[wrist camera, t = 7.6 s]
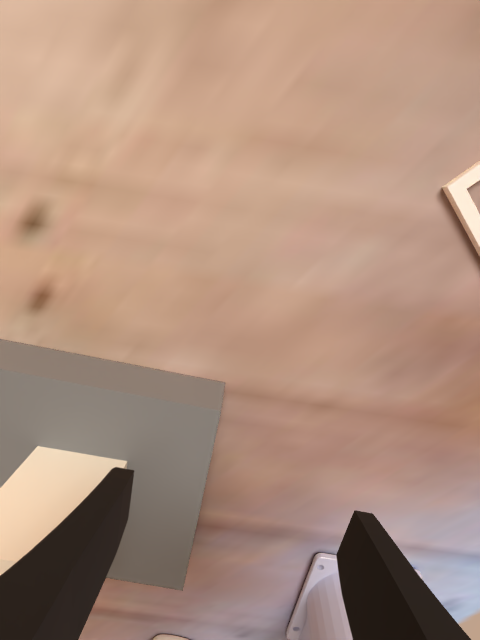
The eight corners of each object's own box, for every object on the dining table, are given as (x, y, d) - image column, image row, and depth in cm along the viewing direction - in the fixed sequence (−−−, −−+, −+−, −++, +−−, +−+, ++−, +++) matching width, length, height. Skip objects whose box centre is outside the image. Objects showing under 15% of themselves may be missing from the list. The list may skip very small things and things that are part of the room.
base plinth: (190, 546, 25) (182, 590, 22) (0, 513, 24) (-33, 554, 22) (225, 382, 20) (220, 411, 18) (-7, 337, 20) (-50, 359, 17)
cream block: (121, 526, 20) (71, 650, 15) (38, 513, 20) (-44, 632, 15) (127, 461, 19) (74, 570, 13) (37, 446, 19) (-55, 550, 13)
